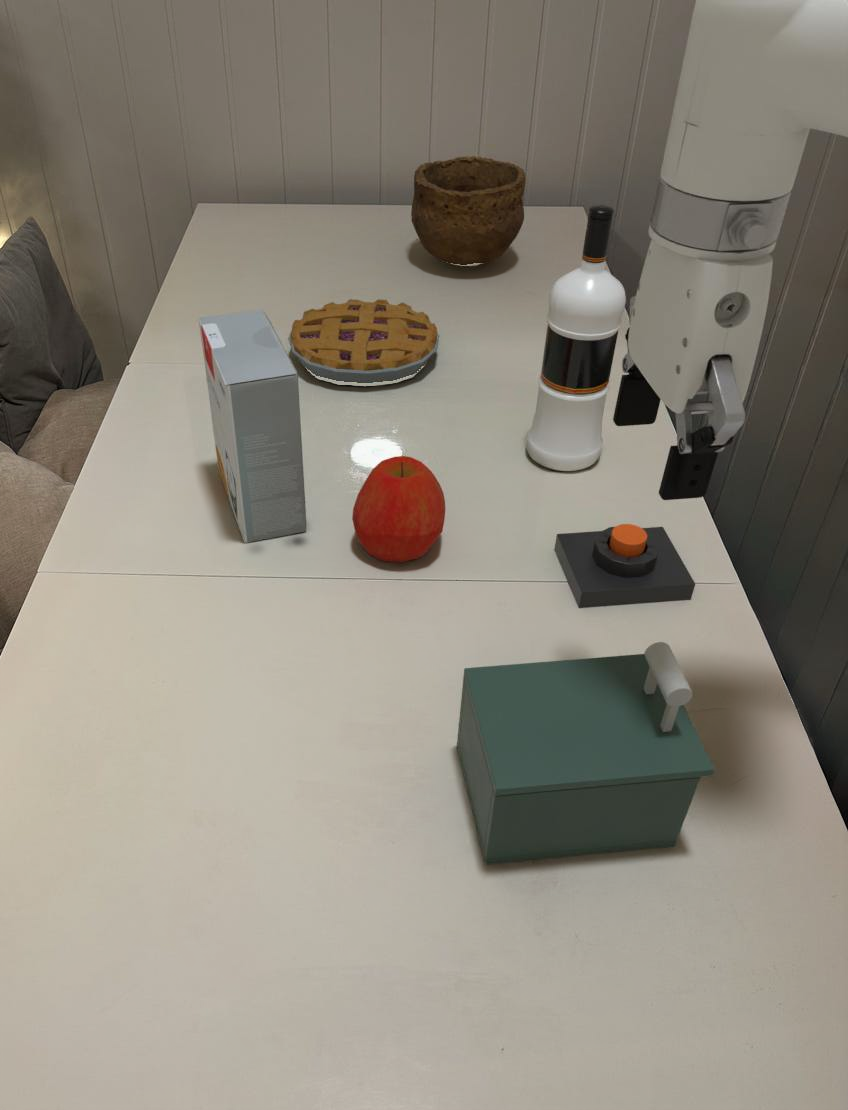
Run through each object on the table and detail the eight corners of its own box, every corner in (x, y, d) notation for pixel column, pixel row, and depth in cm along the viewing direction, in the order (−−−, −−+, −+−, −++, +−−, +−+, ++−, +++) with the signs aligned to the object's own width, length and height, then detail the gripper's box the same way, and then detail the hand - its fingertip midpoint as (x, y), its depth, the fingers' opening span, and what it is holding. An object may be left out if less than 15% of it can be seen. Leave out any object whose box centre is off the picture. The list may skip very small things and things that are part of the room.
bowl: (393, 274, 161) (394, 180, 151) (432, 236, 173) (435, 147, 163) (499, 292, 155) (508, 196, 145) (531, 251, 168) (541, 161, 158)
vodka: (515, 464, 118) (546, 213, 97) (538, 428, 124) (571, 186, 103) (588, 481, 115) (636, 227, 94) (607, 444, 121) (656, 198, 100)
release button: (637, 535, 101) (641, 522, 100) (648, 556, 98) (652, 543, 97) (604, 538, 101) (607, 524, 99) (615, 559, 98) (618, 545, 97)
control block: (658, 542, 106) (666, 512, 103) (690, 600, 99) (699, 570, 96) (554, 549, 105) (558, 520, 102) (578, 608, 98) (584, 578, 95)
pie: (290, 325, 146) (288, 293, 143) (431, 322, 147) (433, 291, 144) (287, 395, 130) (285, 361, 127) (445, 392, 131) (447, 358, 128)
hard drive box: (216, 471, 117) (197, 315, 103) (277, 461, 118) (266, 306, 105) (243, 545, 106) (224, 381, 92) (309, 533, 107) (301, 370, 94)
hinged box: (626, 729, 86) (646, 660, 80) (674, 846, 77) (700, 777, 71) (456, 744, 85) (463, 675, 78) (485, 864, 75) (495, 796, 69)
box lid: (656, 659, 80) (671, 607, 76) (712, 776, 71) (733, 724, 67) (463, 674, 78) (468, 622, 74) (495, 796, 69) (502, 744, 65)
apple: (455, 565, 103) (462, 484, 96) (363, 578, 101) (362, 497, 94) (431, 511, 110) (435, 432, 103) (344, 523, 109) (342, 443, 102)
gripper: (847, 267, 51) (756, 525, 63) (718, 165, 64) (663, 396, 75) (714, 274, 50) (647, 533, 62) (611, 169, 63) (571, 402, 75)
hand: (656, 458), depth 69 cm, fingers open, 9 cm apart
